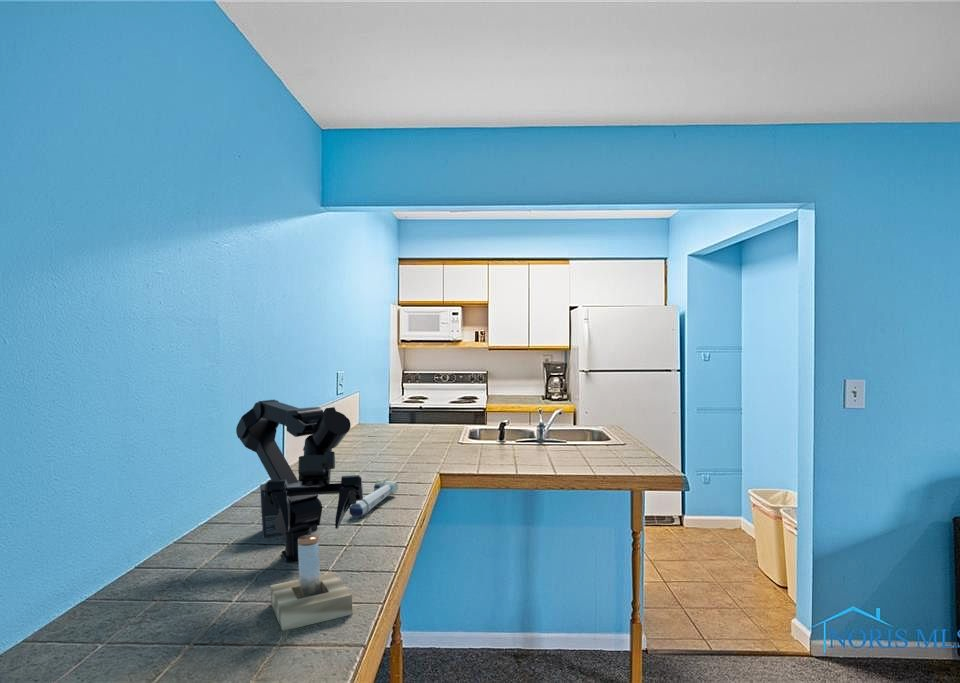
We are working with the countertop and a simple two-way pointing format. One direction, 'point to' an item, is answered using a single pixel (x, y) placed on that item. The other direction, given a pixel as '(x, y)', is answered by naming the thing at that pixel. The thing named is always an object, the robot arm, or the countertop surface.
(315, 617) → the socket block
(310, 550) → the copper capped silver cylinder
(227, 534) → the countertop surface
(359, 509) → the white blue cylinder
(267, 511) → the small box
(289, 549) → the robot arm
